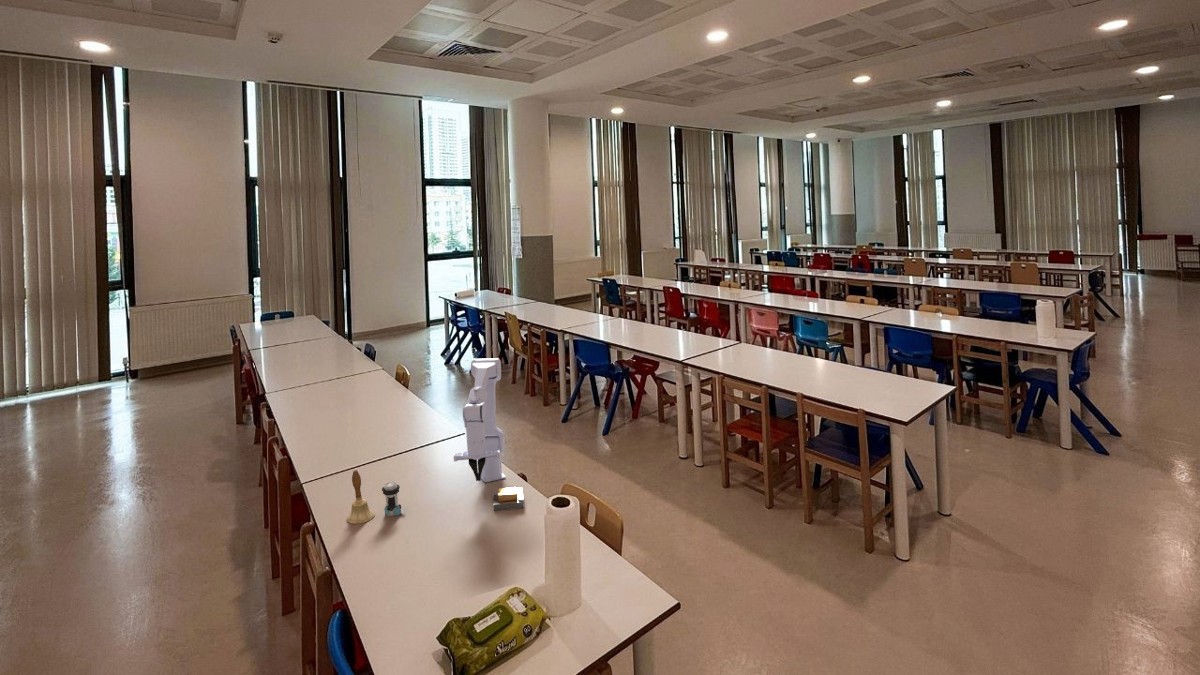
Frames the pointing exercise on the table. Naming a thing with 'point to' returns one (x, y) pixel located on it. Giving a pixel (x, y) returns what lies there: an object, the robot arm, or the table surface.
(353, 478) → the hand bell
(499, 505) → the guide channel
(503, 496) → the block
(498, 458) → the robot arm
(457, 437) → the table surface
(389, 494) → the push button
